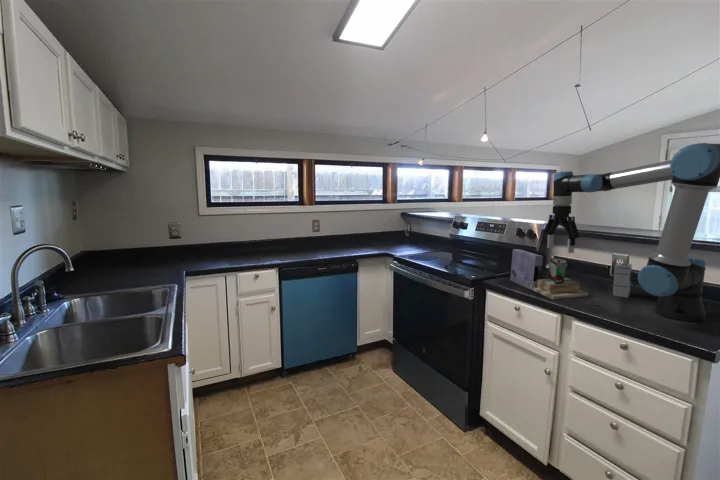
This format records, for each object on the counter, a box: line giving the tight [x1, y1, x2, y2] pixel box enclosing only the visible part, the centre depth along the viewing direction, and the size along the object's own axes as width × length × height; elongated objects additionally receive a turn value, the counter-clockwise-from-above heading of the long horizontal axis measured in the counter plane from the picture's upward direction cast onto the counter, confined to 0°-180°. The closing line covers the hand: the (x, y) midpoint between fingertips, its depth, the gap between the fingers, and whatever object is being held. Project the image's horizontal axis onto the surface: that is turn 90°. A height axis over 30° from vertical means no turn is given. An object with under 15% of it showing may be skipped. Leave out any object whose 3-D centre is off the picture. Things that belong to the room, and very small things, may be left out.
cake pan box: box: [510, 248, 544, 291], centre depth 181 cm, size 19×5×18 cm, turn 12°
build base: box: [532, 277, 589, 300], centre depth 170 cm, size 18×18×6 cm
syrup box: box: [612, 262, 633, 298], centre depth 162 cm, size 6×6×14 cm
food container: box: [548, 257, 568, 284], centre depth 168 cm, size 12×6×10 cm, turn 168°
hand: (560, 250), depth 167 cm, fingers open, 13 cm apart
